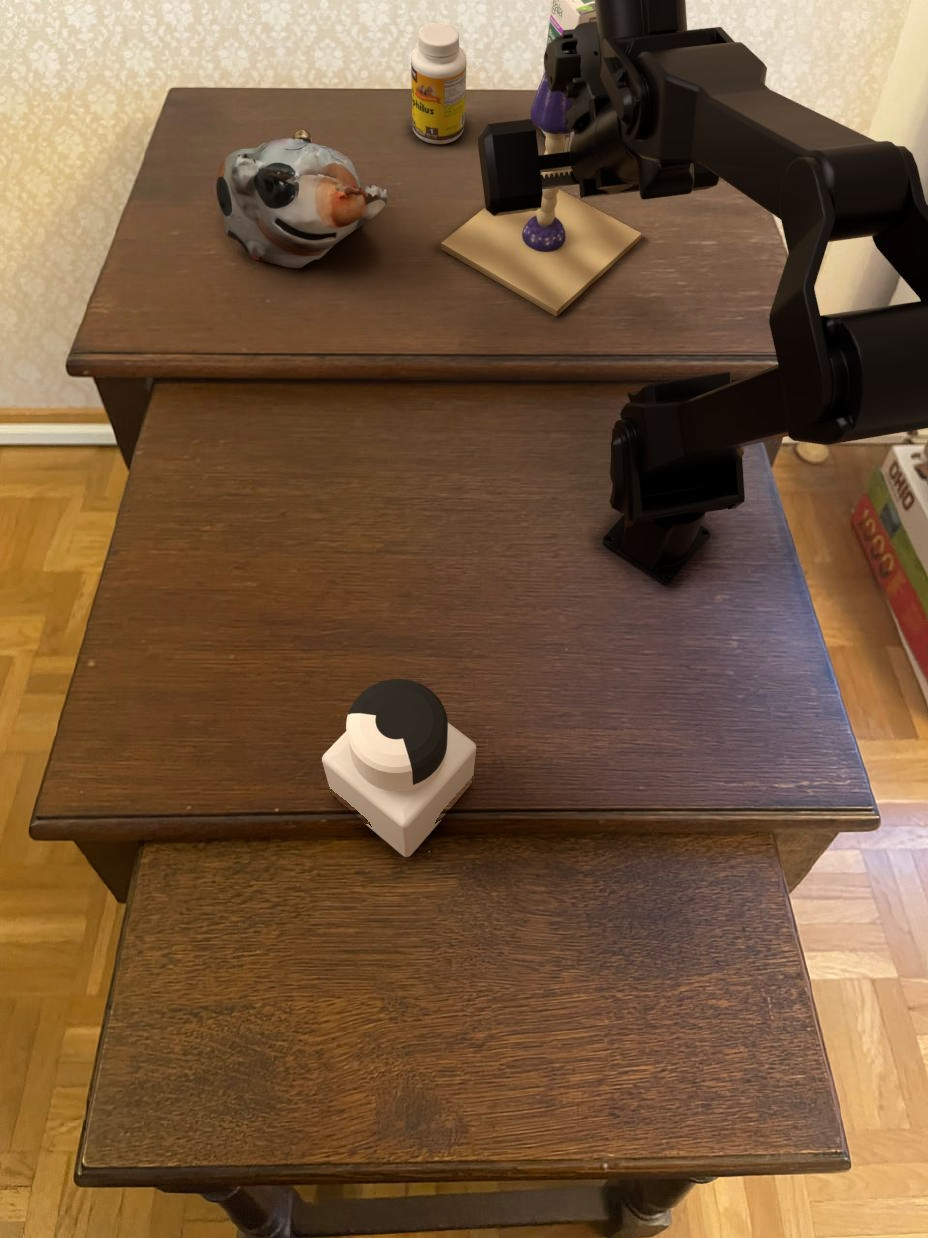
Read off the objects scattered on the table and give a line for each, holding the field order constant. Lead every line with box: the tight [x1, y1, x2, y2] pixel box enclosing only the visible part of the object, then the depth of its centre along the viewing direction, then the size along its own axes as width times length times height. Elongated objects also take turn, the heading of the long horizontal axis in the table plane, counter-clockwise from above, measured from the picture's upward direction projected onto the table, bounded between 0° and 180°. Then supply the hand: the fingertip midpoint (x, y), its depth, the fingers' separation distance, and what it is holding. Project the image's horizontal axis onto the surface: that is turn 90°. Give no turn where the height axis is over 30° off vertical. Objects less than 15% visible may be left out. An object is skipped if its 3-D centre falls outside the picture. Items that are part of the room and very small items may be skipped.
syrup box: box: [541, 0, 597, 152], centre depth 98 cm, size 6×6×14 cm
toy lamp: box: [522, 73, 573, 252], centre depth 87 cm, size 5×5×17 cm
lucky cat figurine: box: [215, 128, 389, 269], centre depth 89 cm, size 15×12×14 cm
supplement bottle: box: [410, 22, 467, 145], centre depth 99 cm, size 6×6×10 cm
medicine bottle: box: [321, 678, 477, 858], centre depth 62 cm, size 7×7×12 cm
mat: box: [440, 188, 642, 317], centre depth 95 cm, size 14×14×1 cm
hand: (571, 177), depth 83 cm, fingers open, 9 cm apart
